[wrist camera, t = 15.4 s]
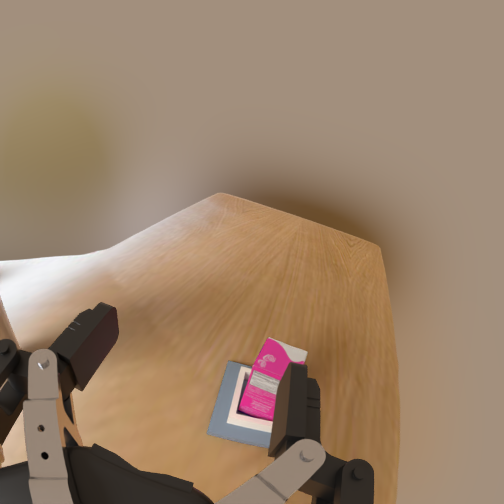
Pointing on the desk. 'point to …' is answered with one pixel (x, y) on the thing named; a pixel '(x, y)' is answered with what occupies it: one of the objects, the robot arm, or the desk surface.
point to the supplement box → (268, 378)
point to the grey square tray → (229, 418)
